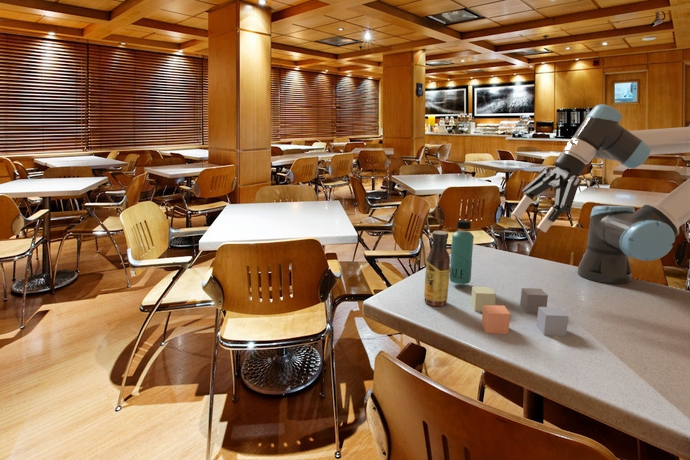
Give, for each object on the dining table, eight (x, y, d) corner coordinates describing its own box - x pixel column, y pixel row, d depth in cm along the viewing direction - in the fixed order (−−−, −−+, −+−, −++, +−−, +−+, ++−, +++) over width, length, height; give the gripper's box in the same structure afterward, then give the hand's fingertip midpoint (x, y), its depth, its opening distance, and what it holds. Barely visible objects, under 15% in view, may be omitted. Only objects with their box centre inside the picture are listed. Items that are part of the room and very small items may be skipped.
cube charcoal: (539, 306, 123) (540, 288, 122) (545, 313, 118) (547, 295, 117) (519, 305, 123) (521, 288, 122) (525, 313, 118) (527, 294, 117)
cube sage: (489, 304, 124) (491, 287, 122) (494, 312, 119) (495, 293, 118) (470, 304, 124) (472, 286, 123) (474, 311, 119) (476, 293, 118)
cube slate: (557, 326, 110) (560, 307, 109) (566, 336, 105) (568, 315, 104) (536, 326, 110) (538, 306, 109) (543, 335, 106) (546, 315, 104)
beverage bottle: (468, 282, 141) (473, 218, 136) (472, 289, 134) (477, 223, 130) (447, 281, 142) (451, 218, 137) (449, 288, 135) (454, 222, 131)
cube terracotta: (502, 325, 111) (504, 305, 110) (508, 334, 106) (510, 313, 105) (481, 324, 111) (483, 304, 110) (486, 333, 106) (488, 313, 105)
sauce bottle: (421, 299, 127) (424, 229, 122) (443, 298, 127) (447, 228, 123) (427, 308, 121) (431, 234, 116) (450, 307, 121) (455, 234, 117)
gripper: (539, 145, 137) (497, 205, 140) (595, 158, 113) (542, 229, 117) (557, 158, 139) (515, 216, 143) (615, 174, 115) (563, 243, 119)
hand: (527, 222), depth 130 cm, fingers open, 13 cm apart
